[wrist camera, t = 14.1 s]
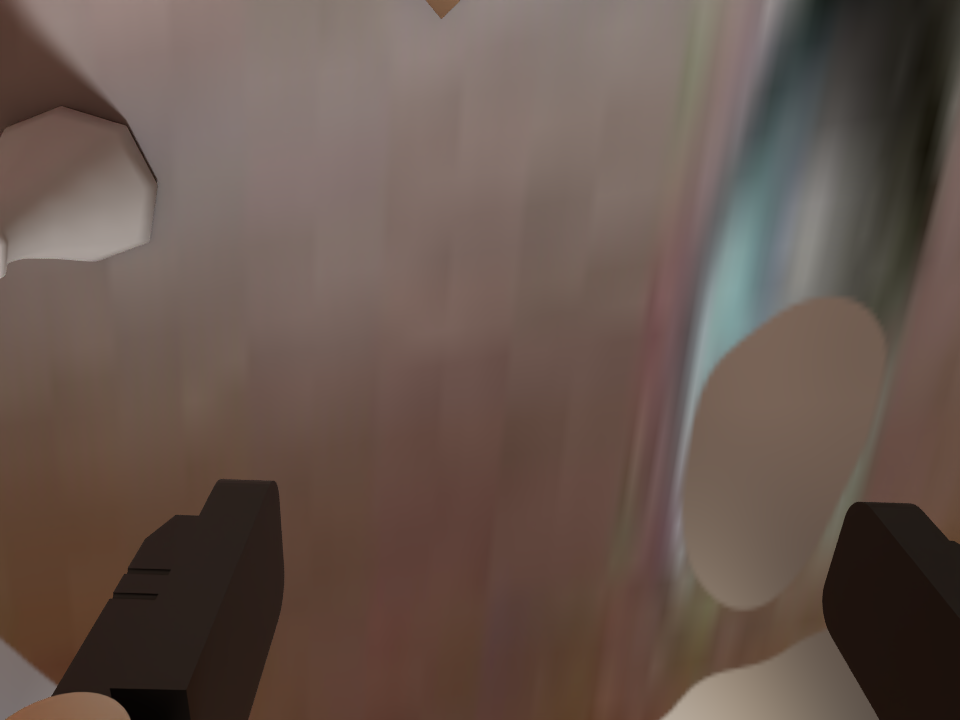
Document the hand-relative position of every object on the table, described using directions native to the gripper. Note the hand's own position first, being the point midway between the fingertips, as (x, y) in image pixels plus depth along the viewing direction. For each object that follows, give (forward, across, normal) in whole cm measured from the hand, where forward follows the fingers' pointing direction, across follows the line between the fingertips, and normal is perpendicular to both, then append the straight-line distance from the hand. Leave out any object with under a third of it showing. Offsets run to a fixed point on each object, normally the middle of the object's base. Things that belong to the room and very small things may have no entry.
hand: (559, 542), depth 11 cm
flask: (+28, +19, +2) cm, 34 cm away
